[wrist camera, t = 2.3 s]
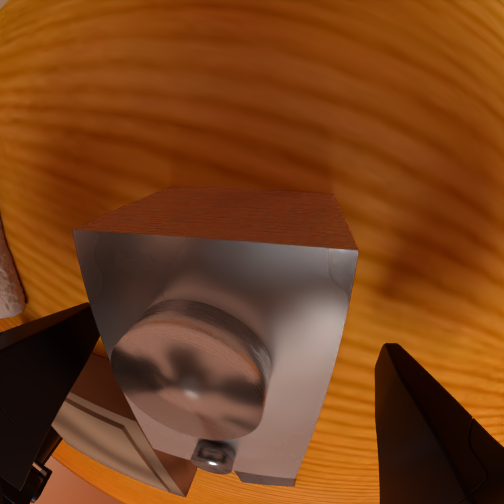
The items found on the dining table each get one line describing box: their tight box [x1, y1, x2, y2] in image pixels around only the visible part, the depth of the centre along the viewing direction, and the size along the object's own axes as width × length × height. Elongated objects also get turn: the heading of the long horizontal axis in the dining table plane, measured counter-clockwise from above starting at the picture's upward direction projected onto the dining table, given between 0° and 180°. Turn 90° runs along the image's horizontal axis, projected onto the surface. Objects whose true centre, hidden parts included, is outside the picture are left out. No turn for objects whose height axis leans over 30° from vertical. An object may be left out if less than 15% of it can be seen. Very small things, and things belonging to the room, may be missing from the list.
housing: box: [72, 188, 359, 479], centre depth 7 cm, size 8×5×6 cm, turn 179°
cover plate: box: [235, 471, 296, 486], centre depth 14 cm, size 7×4×1 cm, turn 11°
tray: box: [52, 353, 197, 498], centre depth 14 cm, size 12×12×3 cm
